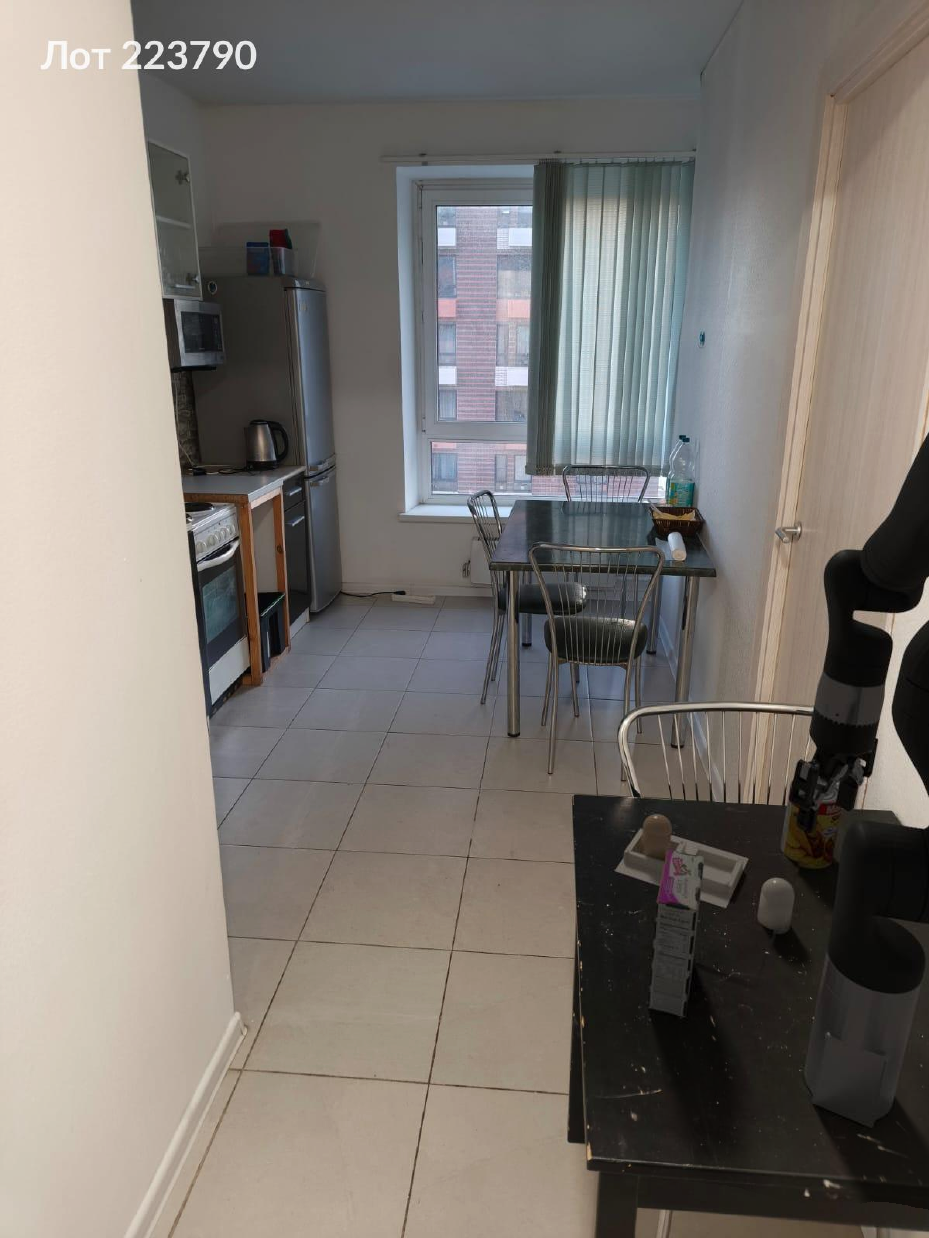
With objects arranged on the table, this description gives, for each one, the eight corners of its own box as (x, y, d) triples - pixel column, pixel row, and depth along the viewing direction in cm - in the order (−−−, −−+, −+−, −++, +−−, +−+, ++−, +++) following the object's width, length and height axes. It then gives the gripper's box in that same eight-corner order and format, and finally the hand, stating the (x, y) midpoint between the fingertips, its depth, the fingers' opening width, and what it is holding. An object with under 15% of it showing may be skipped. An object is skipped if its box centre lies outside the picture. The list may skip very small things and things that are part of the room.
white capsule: (786, 937, 119) (793, 894, 117) (753, 926, 121) (760, 884, 119) (792, 919, 123) (799, 877, 121) (760, 909, 125) (767, 867, 123)
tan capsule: (663, 867, 133) (667, 827, 131) (636, 858, 135) (640, 819, 133) (672, 852, 137) (676, 813, 134) (645, 844, 139) (649, 805, 136)
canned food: (834, 873, 133) (846, 805, 129) (780, 863, 136) (791, 796, 132) (830, 844, 140) (842, 780, 136) (779, 835, 143) (789, 772, 139)
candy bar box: (655, 950, 117) (666, 847, 111) (693, 959, 115) (706, 855, 110) (644, 1009, 107) (655, 900, 101) (685, 1020, 105) (699, 909, 100)
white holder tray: (725, 911, 124) (727, 898, 124) (614, 873, 132) (615, 861, 132) (748, 861, 136) (749, 849, 135) (644, 829, 144) (645, 818, 143)
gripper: (840, 737, 98) (817, 853, 105) (908, 704, 106) (883, 814, 112) (784, 711, 104) (765, 822, 110) (853, 681, 112) (831, 787, 118)
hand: (825, 818), depth 111 cm, fingers open, 8 cm apart
